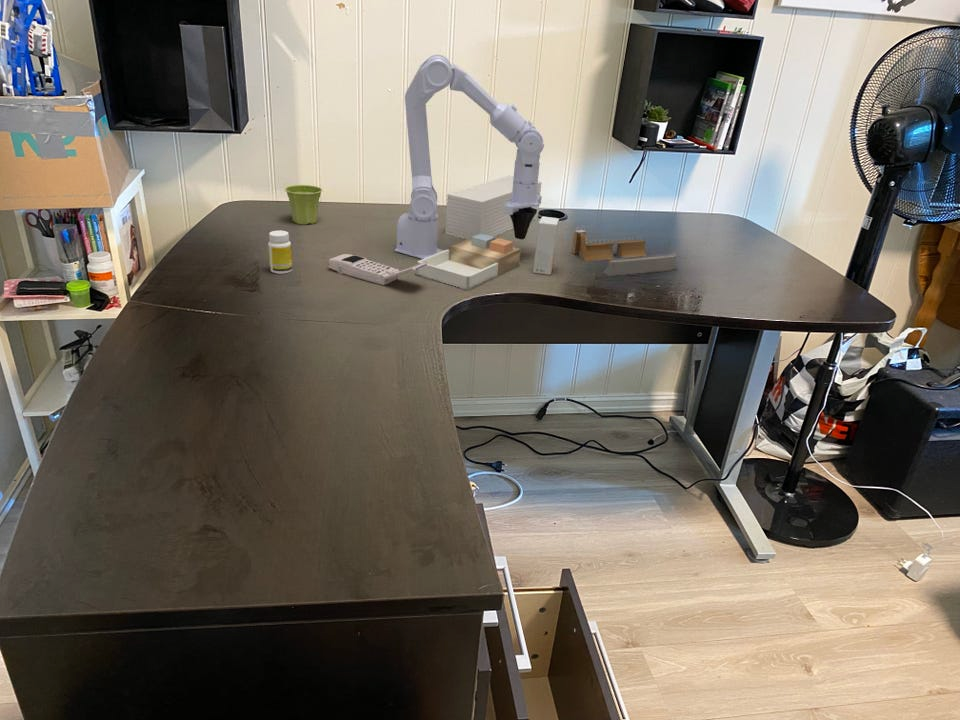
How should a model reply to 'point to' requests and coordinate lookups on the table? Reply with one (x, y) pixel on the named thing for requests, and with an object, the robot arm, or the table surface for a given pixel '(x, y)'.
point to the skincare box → (546, 245)
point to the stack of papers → (481, 209)
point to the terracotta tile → (501, 245)
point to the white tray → (454, 271)
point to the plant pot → (304, 203)
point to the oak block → (484, 257)
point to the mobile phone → (367, 269)
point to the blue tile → (482, 241)
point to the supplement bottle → (280, 252)
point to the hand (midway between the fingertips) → (519, 238)
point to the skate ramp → (625, 251)
